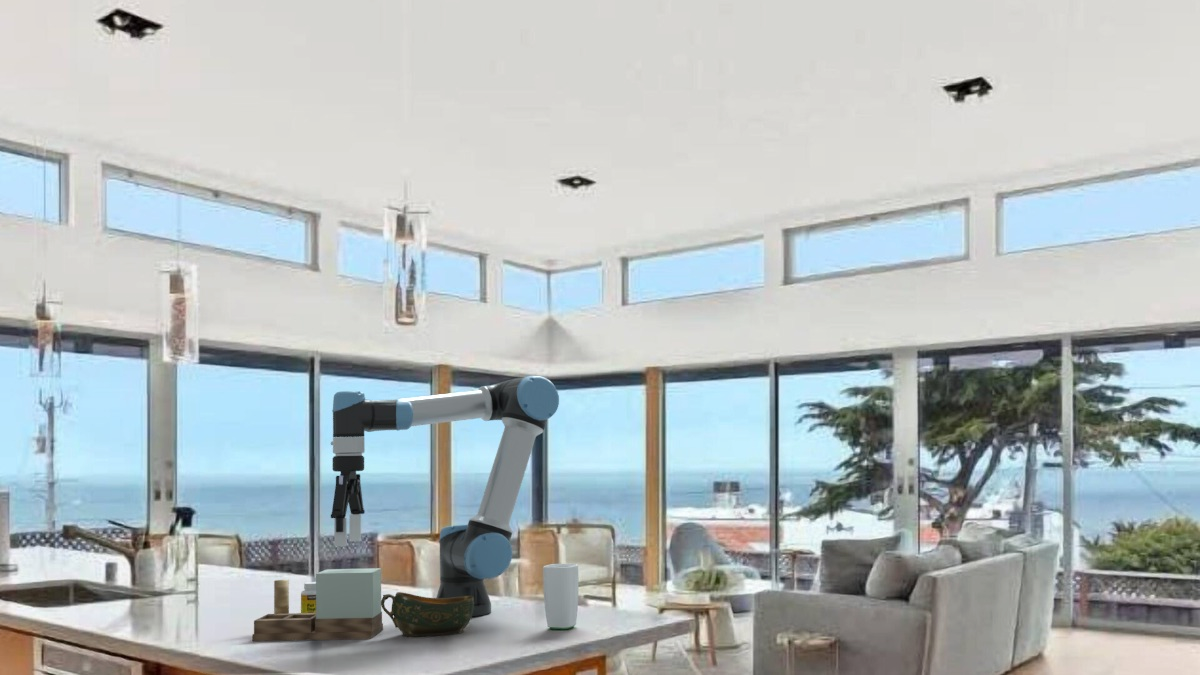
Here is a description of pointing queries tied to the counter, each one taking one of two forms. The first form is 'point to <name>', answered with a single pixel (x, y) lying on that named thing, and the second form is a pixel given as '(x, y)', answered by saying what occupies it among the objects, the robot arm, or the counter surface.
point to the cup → (560, 595)
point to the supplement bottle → (308, 598)
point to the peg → (281, 597)
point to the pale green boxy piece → (348, 593)
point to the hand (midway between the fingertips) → (348, 543)
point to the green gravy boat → (429, 614)
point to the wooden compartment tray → (314, 627)
